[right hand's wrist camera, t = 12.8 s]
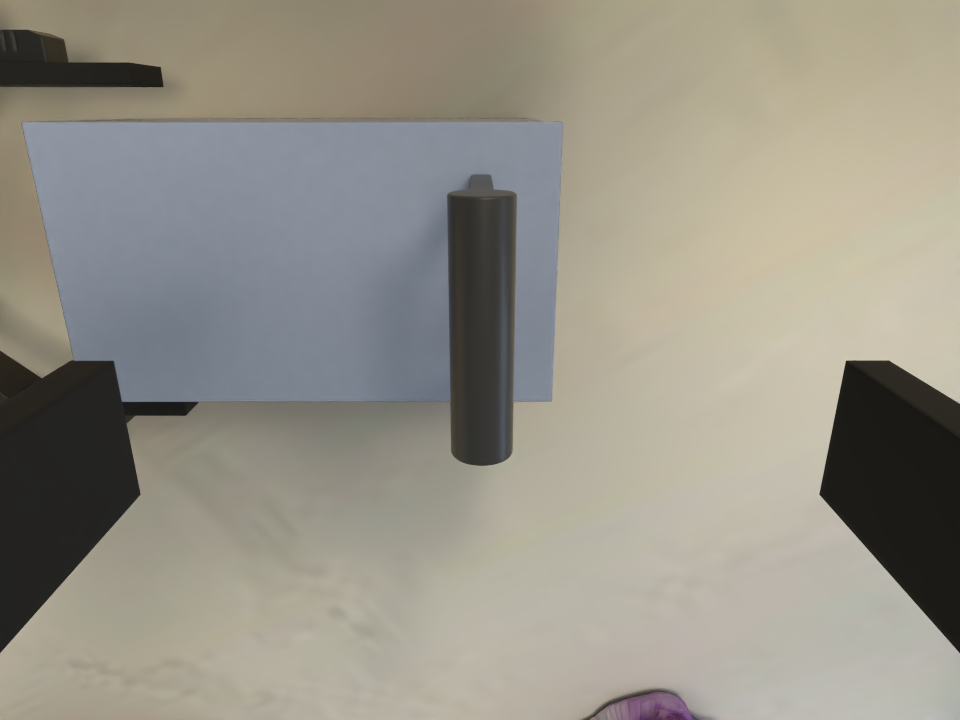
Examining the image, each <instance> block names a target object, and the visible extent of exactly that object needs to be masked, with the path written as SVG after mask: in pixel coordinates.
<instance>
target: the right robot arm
mask: <svg viewBox="0 0 960 720" xmlns="http://www.w3.org/2000/svg"><path fill="white" fill-rule="evenodd" d="M139 496H140V489H139V484H138V479H137V474H136V469H135V464H134V459H133V454H132V449H131V444H130V439H129V434H128V429H127V424H126V419H125V414H124V409H123V404H122V399H121V394H120V389H119V384H118V379H117V374H116V369H115V364H114V361H70V362H68V363H66V364H65V365H63V366H62V367H60V368H58V369H57V370H55V371H53V372H52V373H50V374H48V375H47V376H45V377H44V378H42V379H40V380H39V381H37V382H35V383H34V384H32V385H30V386H29V387H27V388H26V389H24V390H22V391H21V392H19V393H17V394H16V395H14V396H12V397H11V398H9V399H7V400H6V401H4V402H3V403H1V404H0V653H1V651H2V650H3V649H4V648H5V647H6V646H7V645H8V644H9V642H10V641H11V640H12V639H13V638H14V637H15V636H16V635H17V633H18V632H19V631H20V630H21V629H22V628H23V627H24V625H25V624H26V623H27V622H28V621H29V620H30V619H31V618H32V616H33V615H34V614H35V613H36V612H37V611H38V610H39V609H40V607H41V606H42V605H43V604H44V603H45V602H46V601H47V600H48V598H49V597H50V596H51V595H52V594H53V593H54V592H55V590H56V589H57V588H58V587H59V586H60V585H61V584H62V583H63V581H64V580H65V579H66V578H67V577H68V576H69V575H70V574H71V572H72V571H73V570H74V569H75V568H76V567H77V566H78V564H79V563H80V562H81V561H82V560H83V559H84V558H85V557H86V555H87V554H88V553H89V552H90V551H91V550H92V549H93V548H94V546H95V545H96V544H97V543H98V542H99V541H100V540H101V539H102V537H103V536H104V535H105V534H106V533H107V532H108V531H109V529H110V528H111V527H112V526H113V525H114V524H115V523H116V522H117V520H118V519H119V518H120V517H121V516H122V515H123V514H124V513H125V511H126V510H127V509H128V508H129V507H130V506H131V505H132V504H133V502H134V501H135V500H136V499H137V498H138V497H139ZM820 496H821V497H822V498H823V499H824V500H825V501H826V502H827V504H828V505H829V506H830V507H831V508H832V509H833V510H834V511H835V513H836V514H837V515H838V516H839V517H840V518H841V519H842V520H843V522H844V523H845V524H846V525H847V526H848V527H849V528H850V529H851V531H852V532H853V533H854V534H855V535H856V536H857V537H858V539H859V540H860V541H861V542H862V543H863V544H864V545H865V546H866V548H867V549H868V550H869V551H870V552H871V553H872V554H873V555H874V557H875V558H876V559H877V560H878V561H879V562H880V563H881V565H882V566H883V567H884V568H885V569H886V570H887V571H888V572H889V574H890V575H891V576H892V577H893V578H894V579H895V580H896V581H897V583H898V584H899V585H900V586H901V587H902V588H903V589H904V590H905V592H906V593H907V594H908V595H909V596H910V597H911V598H912V600H913V601H914V602H915V603H916V604H917V605H918V606H919V607H920V609H921V610H922V611H923V612H924V613H925V614H926V615H927V616H928V618H929V619H930V620H931V621H932V622H933V623H934V624H935V625H936V627H937V628H938V629H939V630H940V631H941V632H942V633H943V635H944V636H945V637H946V638H947V639H948V640H949V641H950V642H951V644H952V645H953V646H954V647H955V648H956V649H957V650H958V651H959V653H960V404H959V403H957V402H956V401H954V400H952V399H951V398H949V397H948V396H946V395H944V394H943V393H941V392H939V391H938V390H936V389H934V388H933V387H931V386H930V385H928V384H926V383H925V382H923V381H921V380H920V379H918V378H916V377H915V376H913V375H912V374H910V373H908V372H907V371H905V370H903V369H902V368H900V367H898V366H897V365H895V364H894V363H892V362H890V361H846V364H845V369H844V374H843V379H842V384H841V389H840V394H839V399H838V404H837V409H836V414H835V419H834V424H833V429H832V434H831V439H830V444H829V449H828V454H827V459H826V464H825V469H824V474H823V479H822V484H821V489H820Z"/></svg>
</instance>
